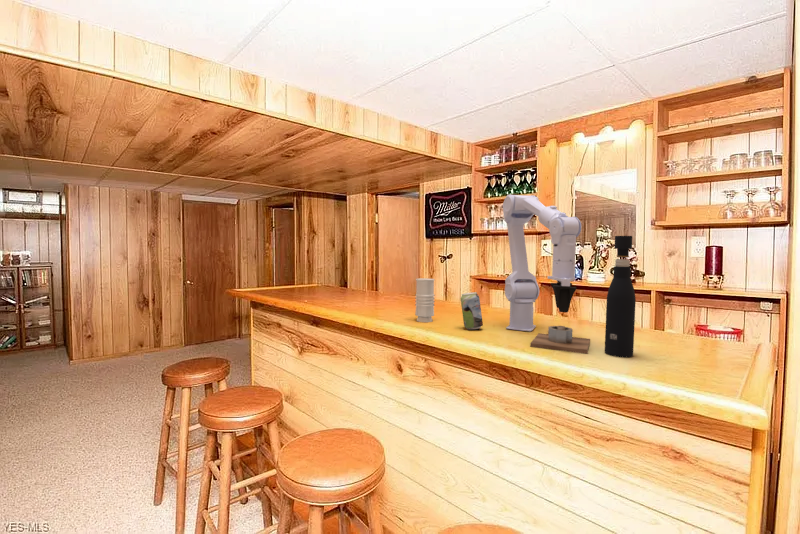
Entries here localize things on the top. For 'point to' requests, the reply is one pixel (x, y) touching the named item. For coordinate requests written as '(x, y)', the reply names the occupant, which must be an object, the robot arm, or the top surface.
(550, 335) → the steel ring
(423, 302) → the grey ribbed cylinder
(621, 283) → the black water bottle
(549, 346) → the stand
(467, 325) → the beverage can
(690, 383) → the top surface
